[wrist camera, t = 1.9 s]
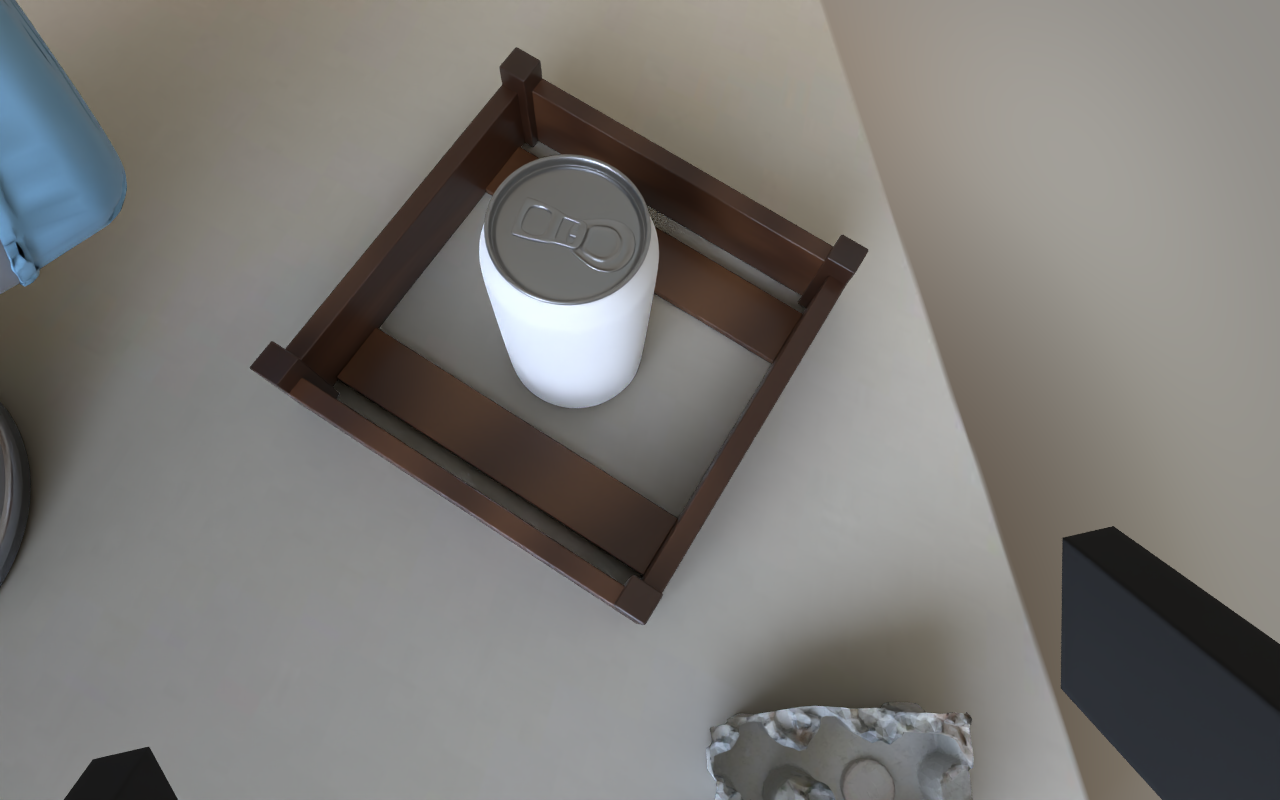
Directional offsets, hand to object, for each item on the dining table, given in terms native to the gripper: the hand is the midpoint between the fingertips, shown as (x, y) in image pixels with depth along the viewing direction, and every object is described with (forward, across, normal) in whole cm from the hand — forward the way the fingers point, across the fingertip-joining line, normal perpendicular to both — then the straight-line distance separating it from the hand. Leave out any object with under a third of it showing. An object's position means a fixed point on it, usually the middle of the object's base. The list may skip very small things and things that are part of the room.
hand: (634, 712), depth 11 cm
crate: (+27, 0, -2) cm, 27 cm away
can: (+27, 0, -2) cm, 27 cm away
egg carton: (+15, +6, -20) cm, 26 cm away
